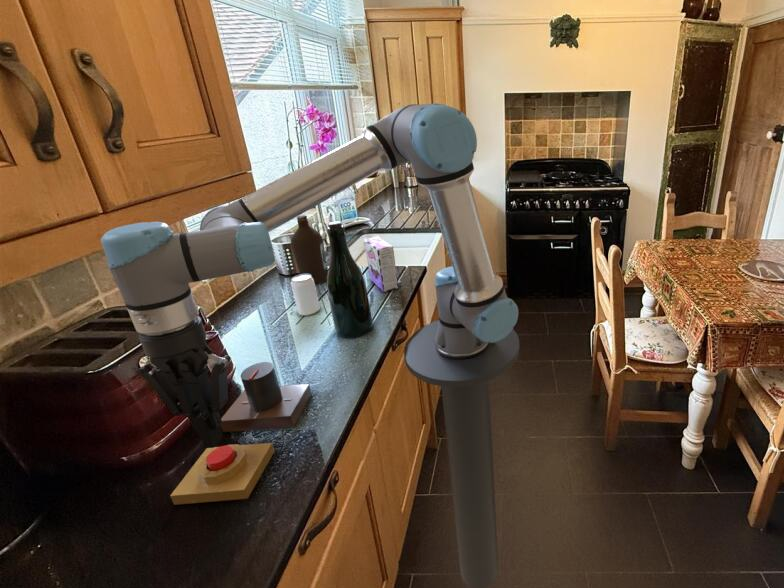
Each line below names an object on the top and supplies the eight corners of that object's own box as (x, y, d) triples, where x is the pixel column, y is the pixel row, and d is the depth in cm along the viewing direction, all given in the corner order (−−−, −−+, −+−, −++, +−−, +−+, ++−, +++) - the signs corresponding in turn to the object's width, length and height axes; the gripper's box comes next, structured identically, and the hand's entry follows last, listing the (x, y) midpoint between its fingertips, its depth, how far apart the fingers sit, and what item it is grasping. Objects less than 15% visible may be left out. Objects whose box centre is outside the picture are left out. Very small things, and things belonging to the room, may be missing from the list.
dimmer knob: (259, 392, 89) (249, 361, 86) (287, 390, 90) (278, 359, 87) (244, 412, 84) (234, 379, 80) (274, 410, 84) (265, 377, 81)
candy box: (369, 280, 151) (363, 238, 145) (384, 275, 155) (379, 235, 149) (383, 292, 141) (376, 249, 135) (399, 288, 144) (393, 245, 138)
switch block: (275, 451, 78) (270, 435, 76) (247, 498, 69) (241, 481, 67) (210, 456, 77) (204, 440, 76) (173, 505, 68) (166, 488, 66)
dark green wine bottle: (373, 335, 116) (354, 225, 104) (334, 341, 113) (310, 230, 101) (373, 317, 125) (356, 215, 113) (337, 323, 122) (315, 219, 110)
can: (323, 306, 133) (316, 273, 128) (314, 316, 127) (306, 281, 122) (304, 306, 133) (296, 273, 128) (294, 316, 127) (285, 281, 122)
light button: (240, 451, 74) (237, 444, 73) (227, 470, 70) (224, 462, 69) (217, 453, 73) (214, 446, 73) (203, 472, 70) (200, 464, 69)
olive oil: (300, 288, 146) (284, 222, 137) (299, 277, 155) (285, 214, 145) (331, 281, 150) (318, 217, 141) (329, 272, 159) (317, 210, 150)
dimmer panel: (312, 394, 93) (309, 383, 92) (293, 427, 83) (289, 415, 82) (249, 398, 92) (245, 387, 91) (222, 432, 82) (218, 420, 81)
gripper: (102, 340, 57) (158, 462, 66) (198, 335, 58) (241, 456, 67) (143, 314, 64) (189, 428, 73) (228, 309, 65) (263, 422, 74)
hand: (214, 441), depth 70 cm, fingers closed
